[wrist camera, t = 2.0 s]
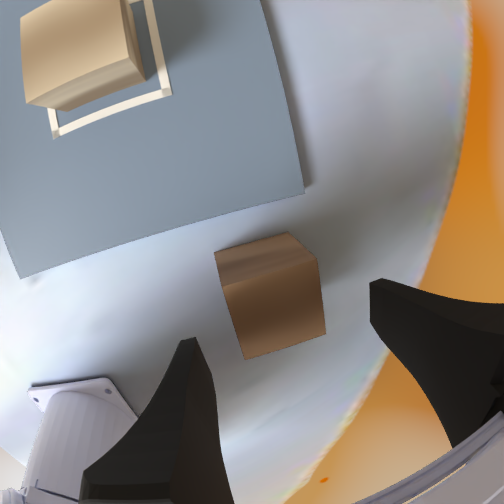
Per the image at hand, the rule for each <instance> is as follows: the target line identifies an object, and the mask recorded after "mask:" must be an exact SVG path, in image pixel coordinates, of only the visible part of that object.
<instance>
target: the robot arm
mask: <svg viewBox="0 0 504 504" xmlns="http://www.w3.org/2000/svg"><path fill="white" fill-rule="evenodd" d="M369 285H370V323H371V325H372V326H373V328H374V329H375V331H376V332H377V334H378V335H379V337H380V338H381V340H382V341H383V342H384V343H385V344H386V346H387V347H388V348H389V349H390V350H391V351H392V352H393V354H395V356H396V357H397V358H398V359H399V360H400V361H401V362H402V364H403V365H404V366H405V367H406V368H407V369H408V370H409V372H410V373H411V374H412V375H413V377H414V378H415V379H416V381H417V382H418V384H419V385H420V387H421V388H422V390H423V391H424V393H425V394H426V396H427V398H428V399H429V401H430V403H431V405H432V406H433V408H434V410H435V411H436V413H437V415H438V417H439V419H440V421H441V423H442V425H443V427H444V429H445V432H446V434H447V436H448V438H449V441H450V443H451V446H452V448H453V449H452V450H450V451H449V452H447V453H446V454H444V455H443V456H441V457H440V458H438V459H437V460H435V461H434V462H432V463H431V464H429V465H427V466H426V467H424V468H423V469H421V470H419V471H417V472H416V473H414V474H412V475H410V476H409V477H407V478H405V479H403V480H401V481H400V482H398V483H396V484H394V485H392V486H390V487H388V488H386V489H384V490H382V491H380V492H378V493H376V494H374V495H372V496H369V497H367V498H365V499H362V500H360V501H358V502H355V503H353V504H402V503H404V502H406V501H408V500H410V499H411V498H413V497H415V496H417V495H418V494H420V493H422V492H423V491H425V490H427V489H428V488H430V487H431V486H433V485H435V484H436V483H438V482H439V481H441V480H442V479H444V478H445V477H447V476H448V475H450V474H451V473H452V472H454V471H455V470H457V469H458V468H459V467H461V466H462V465H464V464H465V463H466V462H467V463H466V465H465V466H464V467H463V468H462V469H460V470H459V471H458V472H456V473H455V474H453V475H452V476H451V477H449V478H448V479H446V480H445V481H443V482H442V483H440V484H439V485H437V486H436V487H434V488H433V489H431V490H429V491H428V492H426V493H424V494H423V495H421V496H420V497H418V498H416V499H415V500H413V501H411V502H410V503H408V504H504V304H503V303H502V304H498V303H496V304H495V303H480V302H470V301H464V300H458V299H453V298H448V297H444V296H440V295H436V294H433V293H429V292H426V291H423V290H419V289H416V288H413V287H410V286H407V285H404V284H401V283H397V282H394V281H391V280H387V279H383V278H381V279H378V280H375V281H373V282H370V283H369ZM108 389H109V390H108ZM27 394H28V395H29V397H30V398H31V399H32V400H33V402H34V403H35V404H36V405H37V406H38V408H39V409H40V410H41V411H42V412H43V413H44V415H43V417H42V420H41V423H40V426H39V429H38V432H37V435H36V438H35V441H34V444H33V447H32V451H31V454H30V457H29V461H28V464H27V468H26V471H25V476H24V480H23V483H22V487H21V489H20V490H19V491H16V490H15V489H13V488H9V489H7V490H2V491H0V504H234V500H233V497H232V493H231V490H230V486H229V482H228V478H227V474H226V470H225V466H224V462H223V457H222V453H221V446H220V438H219V427H218V415H217V403H216V394H215V389H214V384H213V379H212V374H211V372H210V369H209V367H208V365H207V363H206V360H205V358H204V356H203V353H202V351H201V349H200V346H199V344H198V341H197V339H196V337H193V338H190V339H186V340H182V341H180V343H179V345H178V347H177V349H176V351H175V354H174V356H173V358H172V361H171V363H170V365H169V367H168V369H167V371H166V373H165V375H164V378H163V380H162V381H161V383H160V385H159V387H158V389H157V391H156V392H155V394H154V396H153V398H152V399H151V401H150V403H149V404H148V406H147V407H146V409H145V410H144V411H143V413H142V414H141V416H140V417H139V418H137V416H136V415H135V414H134V412H133V411H132V410H131V408H130V407H129V406H128V404H127V403H126V402H125V400H124V399H123V397H122V396H121V395H120V393H119V392H118V390H117V389H116V387H115V386H114V384H113V383H112V382H111V381H110V380H109V379H107V378H98V379H91V380H85V381H79V382H72V383H65V384H57V385H49V386H40V387H31V388H29V389H28V391H27Z"/></svg>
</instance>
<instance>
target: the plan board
mask: <svg viewBox="0 0 504 504" xmlns="http://www.w3.org/2000/svg"><path fill="white" fill-rule="evenodd" d="M49 1H51V0H0V230H1V233H2V235H3V238H4V241H5V244H6V246H7V249H8V251H9V254H10V256H11V259H12V261H13V264H14V266H15V269H16V271H17V273H18V275H19V278H20V279H22V278H25V277H28V276H31V275H33V274H36V273H39V272H42V271H44V270H47V269H50V268H53V267H56V266H59V265H61V264H64V263H67V262H70V261H73V260H76V259H79V258H82V257H85V256H88V255H91V254H94V253H97V252H100V251H103V250H106V249H109V248H112V247H116V246H119V245H122V244H125V243H128V242H131V241H135V240H138V239H141V238H144V237H148V236H151V235H154V234H157V233H161V232H164V231H168V230H171V229H174V228H178V227H181V226H185V225H188V224H192V223H195V222H199V221H202V220H206V219H209V218H213V217H216V216H220V215H224V214H227V213H231V212H235V211H238V210H242V209H246V208H250V207H253V206H257V205H261V204H265V203H269V202H273V201H277V200H281V199H285V198H289V197H293V196H297V195H301V194H305V189H304V184H303V178H302V173H301V168H300V163H299V158H298V153H297V148H296V143H295V138H294V133H293V128H292V124H291V119H290V115H289V110H288V106H287V101H286V97H285V93H284V89H283V84H282V80H281V76H280V72H279V68H278V64H277V60H276V56H275V53H274V49H273V45H272V41H271V38H270V34H269V30H268V27H267V23H266V20H265V16H264V13H263V10H262V6H261V3H260V0H128V2H129V5H130V7H131V9H132V12H133V17H134V22H135V28H136V34H137V39H138V44H139V49H140V54H141V59H142V64H143V69H144V74H145V79H146V82H143V83H140V84H137V85H134V86H131V87H128V88H125V89H123V90H120V91H117V92H114V93H112V94H109V95H106V96H104V97H101V98H99V99H96V100H94V101H91V102H89V103H86V104H84V105H82V106H79V107H77V108H75V109H73V110H70V111H68V112H65V111H60V110H56V109H51V108H46V107H42V106H37V105H32V104H26V99H25V91H24V83H23V73H22V60H21V38H20V18H21V17H23V16H24V15H26V14H28V13H29V12H31V11H33V10H34V9H36V8H38V7H40V6H42V5H44V4H45V3H47V2H49Z"/></svg>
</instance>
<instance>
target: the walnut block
mask: <svg viewBox="0 0 504 504" xmlns="http://www.w3.org/2000/svg"><path fill="white" fill-rule="evenodd" d="M214 255H215V260H216V264H217V269H218V273H219V277H220V282H221V286H222V289H223V293H224V296H225V299H226V302H227V306H228V309H229V312H230V315H231V318H232V322H233V325H234V328H235V331H236V334H237V337H238V340H239V343H240V346H241V350H242V353H243V356H244V359H245V360H247V359H251V358H254V357H258V356H261V355H264V354H268V353H271V352H274V351H277V350H280V349H283V348H287V347H290V346H293V345H296V344H299V343H302V342H305V341H307V340H310V339H313V338H316V337H319V336H322V335H324V334H326V329H325V319H324V310H323V301H322V293H321V285H320V277H319V270H318V262H317V258H316V257H315V256H314V255H312V254H311V253H310V252H309V251H308V250H307V249H306V248H305V247H304V246H303V245H302V244H301V243H300V242H299V241H297V240H296V239H295V238H294V237H293V236H292V235H291V234H290V233H289V232H286V233H282V234H279V235H275V236H272V237H268V238H264V239H261V240H257V241H254V242H250V243H246V244H243V245H239V246H236V247H232V248H229V249H225V250H221V251H218V252H214Z"/></svg>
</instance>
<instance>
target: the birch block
mask: <svg viewBox="0 0 504 504" xmlns="http://www.w3.org/2000/svg"><path fill="white" fill-rule="evenodd" d="M20 38H21V60H22V73H23V83H24V91H25V99H26V104H32V105H37V106H42V107H46V108H51V109H56V110H60V111H65V112H68V111H70V110H73V109H75V108H77V107H79V106H82V105H84V104H86V103H89V102H91V101H94V100H96V99H99V98H101V97H104V96H106V95H109V94H112V93H114V92H117V91H120V90H123V89H125V88H128V87H131V86H134V85H137V84H140V83H143V82H146V79H145V74H144V69H143V64H142V59H141V54H140V49H139V44H138V39H137V34H136V28H135V22H134V17H133V12H132V9H131V7H130V5H129V2H128V0H51V1H49V2H47V3H45V4H44V5H42V6H40V7H38V8H36V9H34V10H33V11H31V12H29V13H28V14H26V15H24V16H23V17H21V18H20Z"/></svg>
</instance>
